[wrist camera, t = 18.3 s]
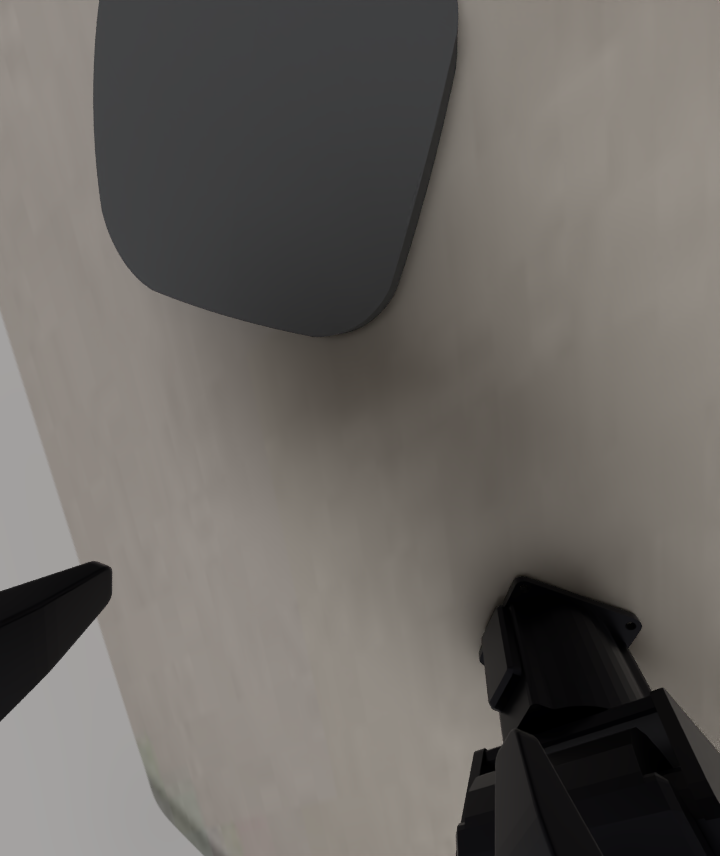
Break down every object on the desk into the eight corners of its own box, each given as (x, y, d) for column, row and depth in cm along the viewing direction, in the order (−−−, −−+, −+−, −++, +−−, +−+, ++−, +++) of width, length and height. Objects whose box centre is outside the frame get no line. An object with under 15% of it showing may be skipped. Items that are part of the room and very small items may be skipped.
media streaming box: (383, 353, 19) (372, 359, 16) (136, 281, 21) (88, 276, 18) (486, -26, 14) (496, -112, 11) (149, -75, 16) (85, -158, 13)
